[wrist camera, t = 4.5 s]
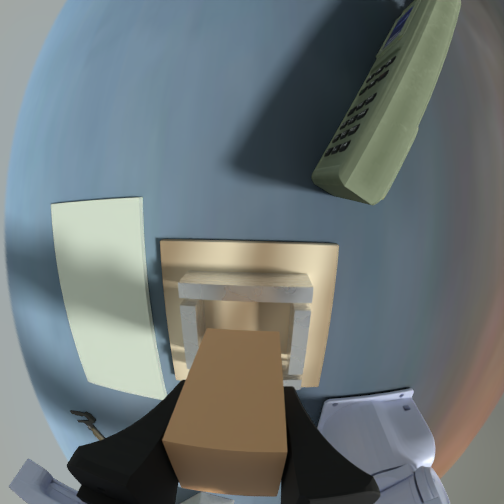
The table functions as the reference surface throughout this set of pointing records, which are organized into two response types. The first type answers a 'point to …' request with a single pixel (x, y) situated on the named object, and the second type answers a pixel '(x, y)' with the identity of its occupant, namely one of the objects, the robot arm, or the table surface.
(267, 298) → the grey square ring
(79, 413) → the adjustable wrench
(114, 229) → the mat
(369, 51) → the table surface
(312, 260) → the base plate
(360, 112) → the handheld radio
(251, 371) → the plug
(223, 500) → the block
